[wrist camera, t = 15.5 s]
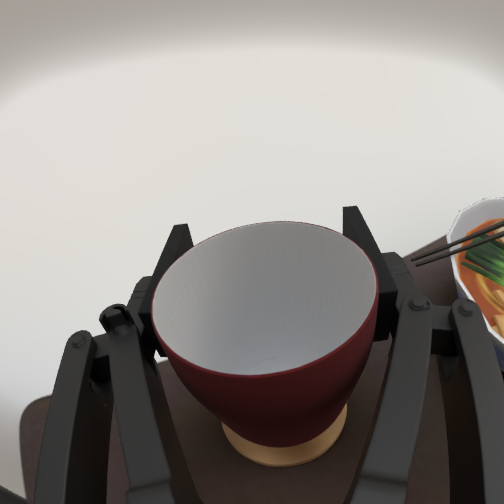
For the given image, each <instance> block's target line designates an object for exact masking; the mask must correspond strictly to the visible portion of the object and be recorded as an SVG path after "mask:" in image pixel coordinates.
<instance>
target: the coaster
mask: <svg viewBox="0 0 504 504" xmlns="http://www.w3.org/2000/svg"><path fill="white" fill-rule="evenodd" d="M346 415H347V402H346V404H345V406H344V408H343V410H342V411H341V413H340V415H339V416H338V418H337V419H336V420H335V422H334V423H333V424H332V425H331V426H330V427H329V428H328V429H327V430H326V431H324V432H323V433H322V434H320V435H319V436H317V437H316V438H314V439H312V440H310V441H308V442H306V443H303V444H300V445H296V446H291V447H282V448H274V447H266V446H261V445H258V444H255V443H252V442H250V441H248V440H246V439H244V438H242V437H240V436H239V435H238V434H236V433H235V432H233V431H232V430H231V429H230V428H229V427H227V426H226V425H225V424H224V423H223V422H221V423H222V427H223V430H224V432H225V434H226V436H227V438H228V440H229V441H230V443H231V444H232V446H233V447H234V448H235V449H236V450H237V451H238V452H239V453H240V454H242V455H243V456H244V457H246V458H248V459H249V460H251V461H254V462H256V463H258V464H262V465H266V466H271V467H291V466H297V465H301V464H304V463H307V462H309V461H312V460H314V459H315V458H317V457H319V456H320V455H322V454H323V453H325V452H326V451H327V450H328V449H329V448H330V447H331V446H332V445H333V444H334V443H335V442H336V440H337V439H338V437H339V436H340V434H341V432H342V430H343V427H344V424H345V420H346Z"/></svg>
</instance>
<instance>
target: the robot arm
mask: <svg viewBox="0 0 504 504" xmlns="http://www.w3.org/2000/svg"><path fill="white" fill-rule="evenodd" d="M343 235H344V236H346V237H348V238H349V239H351V240H353V241H354V242H355V243H356V244H358V245H359V246H360V247H361V248H362V249H363V250H364V251H365V252H366V253H367V255H368V256H369V257H370V259H371V261H372V262H373V264H374V267H375V269H376V272H377V276H378V283H379V297H378V309H377V319H376V326H375V333H374V338H373V342H375V341H381V340H388V337H389V332H391V335H392V338H393V340H392V343H391V347H390V351H389V354H388V356H389V357H388V362H387V367H386V371H385V375H384V379H383V384H382V388H381V392H380V396H379V399H378V403H377V407H376V410H375V414H374V418H373V421H372V424H371V428H370V431H369V434H368V438H367V441H366V444H365V447H364V450H363V453H362V456H361V459H360V462H359V465H358V468H357V471H356V473H355V476H354V479H353V481H352V484H351V487H350V489H349V492H348V494H347V496H346V498H345V501H344V503H343V504H404V502H405V499H406V495H407V491H408V484H407V477H408V473H409V470H410V466H411V462H412V458H413V454H414V449H415V445H416V440H417V436H418V431H419V426H420V421H421V416H422V410H423V404H424V398H425V391H426V384H427V377H428V369H429V360H430V354H436V358H437V363H438V369H439V375H440V381H441V388H442V395H443V402H444V410H445V419H446V428H447V439H448V453H449V473H450V504H504V381H503V377H502V373H501V370H500V366H499V363H498V359H497V356H496V353H495V349H494V346H493V343H492V340H491V337H490V334H489V331H488V328H487V325H486V323H485V320H484V317H483V314H482V312H481V309H480V307H479V306H478V304H477V303H476V302H474V301H473V300H471V299H468V298H458V299H456V300H455V301H454V302H453V304H452V306H441V305H435V304H433V303H432V301H431V300H430V298H428V297H427V296H425V295H423V294H421V293H420V291H419V289H418V287H417V285H416V283H415V281H414V279H413V278H412V276H411V274H410V273H409V270H408V268H407V267H406V264H405V262H404V261H403V259H402V258H401V257H400V256H399V255H398V254H397V253H395V252H389V253H381V252H380V250H379V248H378V246H377V244H376V242H375V240H374V238H373V236H372V234H371V232H370V230H369V228H368V226H367V224H366V222H365V220H364V218H363V216H362V214H361V213H360V211H359V209H358V207H357V206H349V207H343ZM193 246H194V245H193V242H192V238H191V235H190V231H189V227H188V224H181V225H174V227H173V229H172V231H171V233H170V236H169V238H168V240H167V242H166V245H165V247H164V250H163V252H162V254H161V256H160V259H159V261H158V263H157V266H156V268H155V270H154V273H153V275H152V276H146V277H143V278H142V279H141V280H140V281H139V282H138V283H137V284H136V286H135V288H134V291H133V293H132V295H131V299H130V300H129V302H128V304H127V306H125V305H123V304H114V305H111V306H109V307H107V308H106V309H105V310H104V311H103V312H102V313H101V315H100V318H99V321H100V323H101V324H102V326H103V328H104V329H105V331H106V333H105V334H102V335H98V336H95V337H92V335H91V334H90V332H88V331H86V330H85V331H84V330H81V331H78V332H76V333H74V334H73V335H72V336H71V337H70V338H69V339H68V341H67V343H66V346H65V349H64V353H63V356H62V360H61V363H60V367H59V370H58V374H57V378H56V381H55V385H54V389H53V393H52V397H51V401H50V405H49V410H48V414H47V419H46V424H45V429H44V434H43V439H42V444H41V450H40V456H39V462H38V469H37V476H36V484H35V492H34V502H33V504H106V495H107V471H108V455H109V442H110V431H111V420H112V411H113V402H114V404H115V411H116V417H117V423H118V429H119V435H120V440H121V446H122V451H123V456H124V461H125V465H126V470H127V474H128V479H129V483H130V489H129V490H128V491H127V492H126V501H127V504H203V503H202V501H201V500H200V498H199V496H198V494H197V492H196V489H195V486H194V483H193V481H192V478H191V475H190V472H189V470H188V467H187V464H186V461H185V458H184V455H183V452H182V449H181V446H180V443H179V440H178V436H177V433H176V430H175V427H174V423H173V420H172V417H171V413H170V410H169V406H168V403H167V399H166V396H165V392H164V388H163V384H162V381H161V377H160V373H159V369H158V365H157V362H156V360H155V358H154V354H155V351H156V350H157V352H158V353H159V355H160V357H167V356H166V354H165V352H164V350H163V348H162V346H161V344H160V342H159V340H158V338H157V336H156V334H155V331H154V328H153V325H152V320H151V301H152V297H153V293H154V290H155V288H156V286H157V284H158V282H159V280H160V279H161V277H162V275H163V274H164V273H165V271H166V270H167V269H168V268H169V267H170V265H171V264H172V263H173V262H174V261H175V260H177V259H178V258H179V257H180V256H181V255H182V254H184V253H185V252H186V251H188V250H189V249H190V248H192V247H193Z"/></svg>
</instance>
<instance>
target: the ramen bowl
mask: <svg viewBox="0 0 504 504" xmlns="http://www.w3.org/2000/svg"><path fill="white" fill-rule="evenodd" d="M446 237H447V241H448V244H447V245H444V246H442V247H439V248H437V249H434V250H432V251H429V252H427V253H424V254H422V255H419V256H417V257H414V258H412V259H411V261H415V260H418V259H421V258H423V257H426V256H429V255H432V254H434V253H437V252H440V251H442V250H445V249H448V248H449V250H450V252H447V253H445V254H442V255H439V256H437V257H434V258H431V259H428V260H425V261H423V262H420V263H417V264H416V267H418V266H421V265H424V264H427V263H430V262H433V261H436V260H439V259H442V258H445V257H448V256H451V260H452V266H453V271H454V277H455V281H456V286H457V292H458V296H459V298H468V299H471V300H473V301H474V302H476V303H477V304H478V306H479V307H480V309H481V312H482V314H483V317H484V320H485V323H486V325H487V328H488V331H489V334H490V337H491V340H492V343H493V346H494V349H495V353H496V356H497V359H498V363H499V366H500V369H501V370H502V371H503V372H504V197H501V198H484V199H482V200H480V201H478V202H476V203H474V204H472V205H471V206H468V207H466V208H464V209H462V210H460V211H459V213H458V215H457V217H456V219H455V220H454V222H453V224H452V226H451V228H450V230H449V232H448V234H447V236H446Z"/></svg>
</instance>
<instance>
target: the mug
mask: <svg viewBox="0 0 504 504" xmlns="http://www.w3.org/2000/svg"><path fill="white" fill-rule="evenodd" d="M378 297H379V283H378V276H377V272H376V269H375V267H374V264H373V262H372V261H371V259H370V257H369V256H368V255H367V253H366V252H365V251H364V250H363V249H362V248H361V247H360V246H359V245H358V244H356V243H355V242H354V241H353V240H351V239H349V238H348V237H346V236H344V235H343V234H341V233H339V232H336V231H334V230H331V229H329V228H326V227H322V226H319V225H314V224H309V223H302V222H290V221H288V222H287V221H276V222H264V223H256V224H251V225H246V226H241V227H238V228H234V229H230V230H228V231H225V232H222V233H219V234H217V235H214V236H212V237H210V238H208V239H206V240H204V241H202V242H200V243H199V244H197V245H195V246H193V247H192V248H190V249H189V250H188V251H186V252H185V253H184V254H182V255H181V256H180V257H179V258H178V259H177V260H175V261H174V262H173V263H172V264H171V265H170V267H169V268H168V269H167V270H166V271H165V273H164V274H163V275H162V277H161V279H160V280H159V282H158V284H157V286H156V288H155V290H154V293H153V297H152V301H151V320H152V325H153V328H154V331H155V334H156V336H157V338H158V340H159V342H160V344H161V346H162V348H163V350H164V352H165V354H166V356H167V358H168V359H169V361H170V363H171V365H172V367H173V368H174V370H175V372H176V374H177V375H178V377H179V378H180V380H181V381H182V383H183V384H184V385H185V387H186V388H187V389H188V390H189V392H190V393H191V394H192V395H193V396H194V397H195V398H196V399H197V400H198V401H199V402H200V403H201V404H202V405H203V406H204V407H205V408H207V409H208V410H209V411H210V412H211V413H212V414H213V415H215V416H216V417H217V418H218V419H219V420H220V421H221V422H223V423H224V424H225V425H226V426H227V427H229V428H230V429H231V430H232V431H233V432H235V433H236V434H238V435H239V436H240V437H242V438H244V439H246V440H248V441H250V442H252V443H255V444H258V445H261V446H266V447H274V448H282V447H291V446H296V445H300V444H303V443H306V442H308V441H310V440H312V439H314V438H316V437H317V436H319V435H320V434H322V433H323V432H324V431H326V430H327V429H328V428H329V427H330V426H331V425H332V424H333V423H334V422H335V420H336V419H337V418H338V416H339V415H340V413H341V411H342V410H343V408H344V406H345V404H346V402H347V401H348V399H349V397H350V395H351V393H352V391H353V389H354V387H355V386H356V384H357V382H358V380H359V378H360V376H361V374H362V372H363V370H364V367H365V365H366V362H367V360H368V357H369V354H370V351H371V347H372V343H373V338H374V333H375V326H376V319H377V309H378Z"/></svg>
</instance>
